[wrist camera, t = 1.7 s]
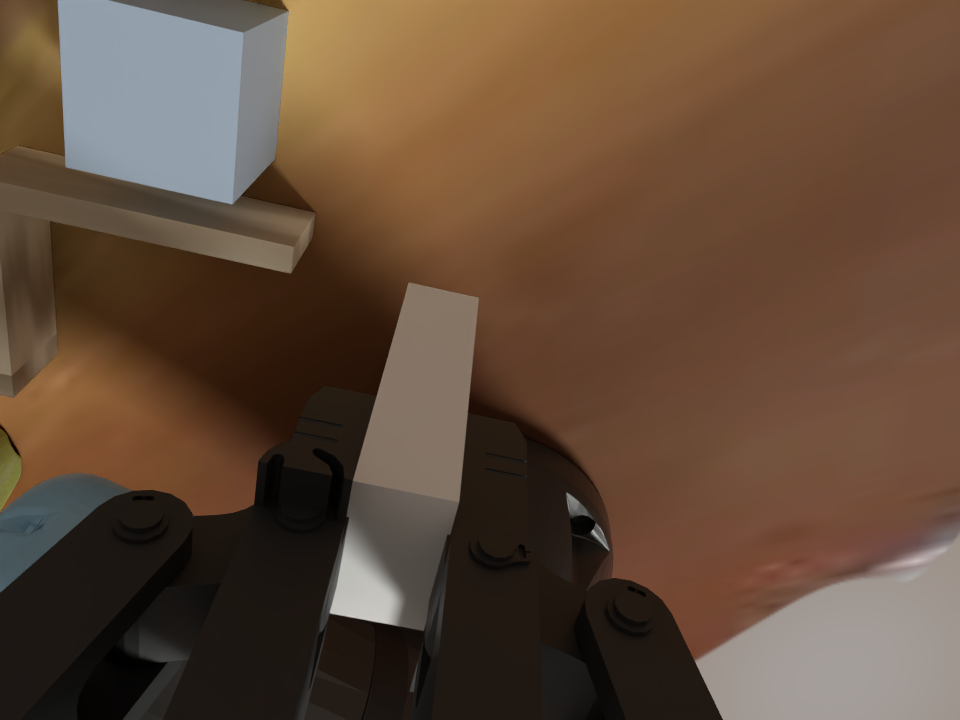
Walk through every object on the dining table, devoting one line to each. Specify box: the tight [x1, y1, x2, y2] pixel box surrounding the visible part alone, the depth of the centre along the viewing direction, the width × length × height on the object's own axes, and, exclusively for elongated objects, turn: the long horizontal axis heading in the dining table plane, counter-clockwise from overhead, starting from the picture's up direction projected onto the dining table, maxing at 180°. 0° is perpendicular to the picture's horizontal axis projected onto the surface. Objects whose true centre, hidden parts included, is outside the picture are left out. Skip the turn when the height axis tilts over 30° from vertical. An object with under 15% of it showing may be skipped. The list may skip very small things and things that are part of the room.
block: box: [58, 0, 289, 204], centre depth 30 cm, size 6×6×6 cm
